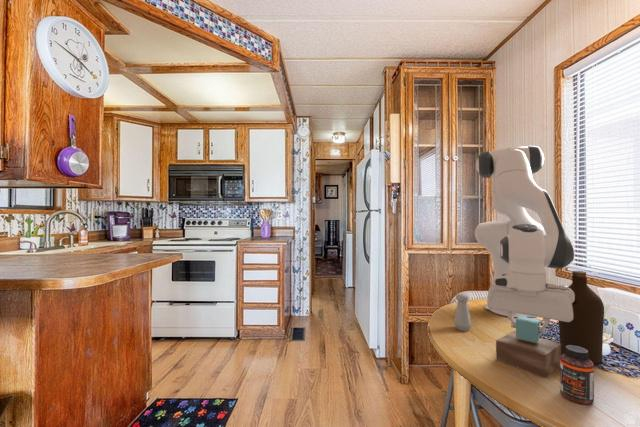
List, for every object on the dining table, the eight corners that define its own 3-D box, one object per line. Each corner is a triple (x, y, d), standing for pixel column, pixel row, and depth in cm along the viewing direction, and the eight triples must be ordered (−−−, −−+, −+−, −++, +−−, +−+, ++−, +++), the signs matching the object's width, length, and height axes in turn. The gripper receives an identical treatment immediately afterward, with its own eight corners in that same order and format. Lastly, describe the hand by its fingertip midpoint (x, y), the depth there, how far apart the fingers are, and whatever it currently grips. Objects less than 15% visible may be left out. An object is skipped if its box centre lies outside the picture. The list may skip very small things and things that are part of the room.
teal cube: (519, 332, 90) (518, 315, 90) (539, 337, 87) (539, 319, 87) (516, 337, 87) (515, 320, 87) (537, 342, 83) (537, 324, 83)
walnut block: (514, 349, 95) (513, 330, 95) (561, 365, 85) (561, 343, 85) (496, 361, 88) (496, 340, 88) (545, 378, 78) (545, 355, 78)
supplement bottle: (558, 397, 70) (557, 348, 70) (562, 387, 74) (561, 340, 74) (593, 409, 66) (592, 356, 66) (595, 397, 70) (594, 348, 70)
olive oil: (612, 368, 83) (611, 276, 83) (564, 361, 87) (562, 273, 87) (595, 352, 92) (594, 269, 93) (553, 346, 97) (551, 267, 97)
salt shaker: (473, 332, 108) (472, 296, 108) (456, 331, 110) (455, 295, 110) (468, 326, 114) (468, 292, 114) (452, 325, 115) (452, 291, 115)
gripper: (575, 284, 82) (575, 336, 82) (490, 275, 96) (491, 319, 96) (573, 289, 78) (574, 343, 78) (485, 278, 91) (485, 324, 91)
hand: (527, 330), depth 87 cm, fingers closed on teal cube, 5 cm apart
